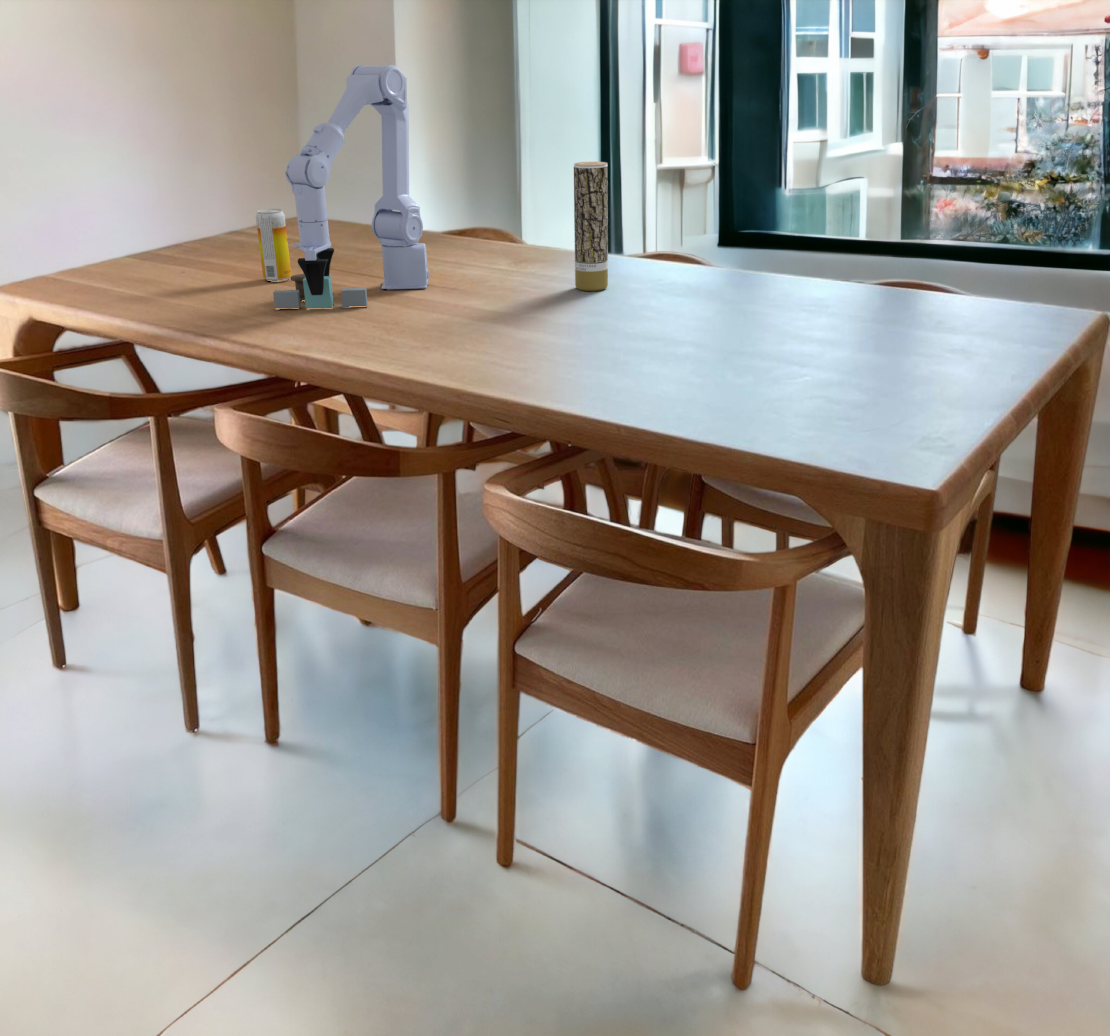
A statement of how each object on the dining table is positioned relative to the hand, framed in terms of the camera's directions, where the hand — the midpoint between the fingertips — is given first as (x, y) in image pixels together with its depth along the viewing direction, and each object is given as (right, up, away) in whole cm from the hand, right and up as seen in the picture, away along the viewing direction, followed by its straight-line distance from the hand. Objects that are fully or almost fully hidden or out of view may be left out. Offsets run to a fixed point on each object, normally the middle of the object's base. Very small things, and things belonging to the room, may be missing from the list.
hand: (319, 290), depth 225 cm
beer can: (-15, +7, +27) cm, 31 cm away
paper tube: (+54, +3, +13) cm, 56 cm away
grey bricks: (0, -3, +1) cm, 3 cm away
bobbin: (-5, 0, +9) cm, 11 cm away
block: (0, -3, +1) cm, 4 cm away
